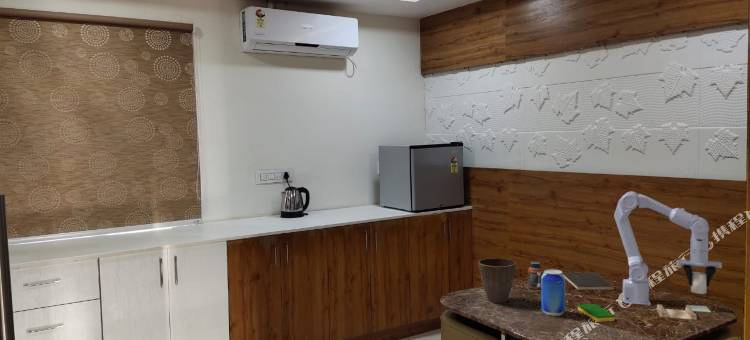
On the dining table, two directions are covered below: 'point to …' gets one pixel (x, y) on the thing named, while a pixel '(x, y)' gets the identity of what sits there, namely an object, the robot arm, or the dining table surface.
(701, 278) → the white domed cylinder
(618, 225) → the robot arm
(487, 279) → the plant pot
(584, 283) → the hardcover book
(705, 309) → the mat
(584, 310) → the dish sponge
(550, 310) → the beer can
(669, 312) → the cradle
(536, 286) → the supplement bottle
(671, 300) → the dining table surface
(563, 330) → the dining table surface
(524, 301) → the dining table surface
